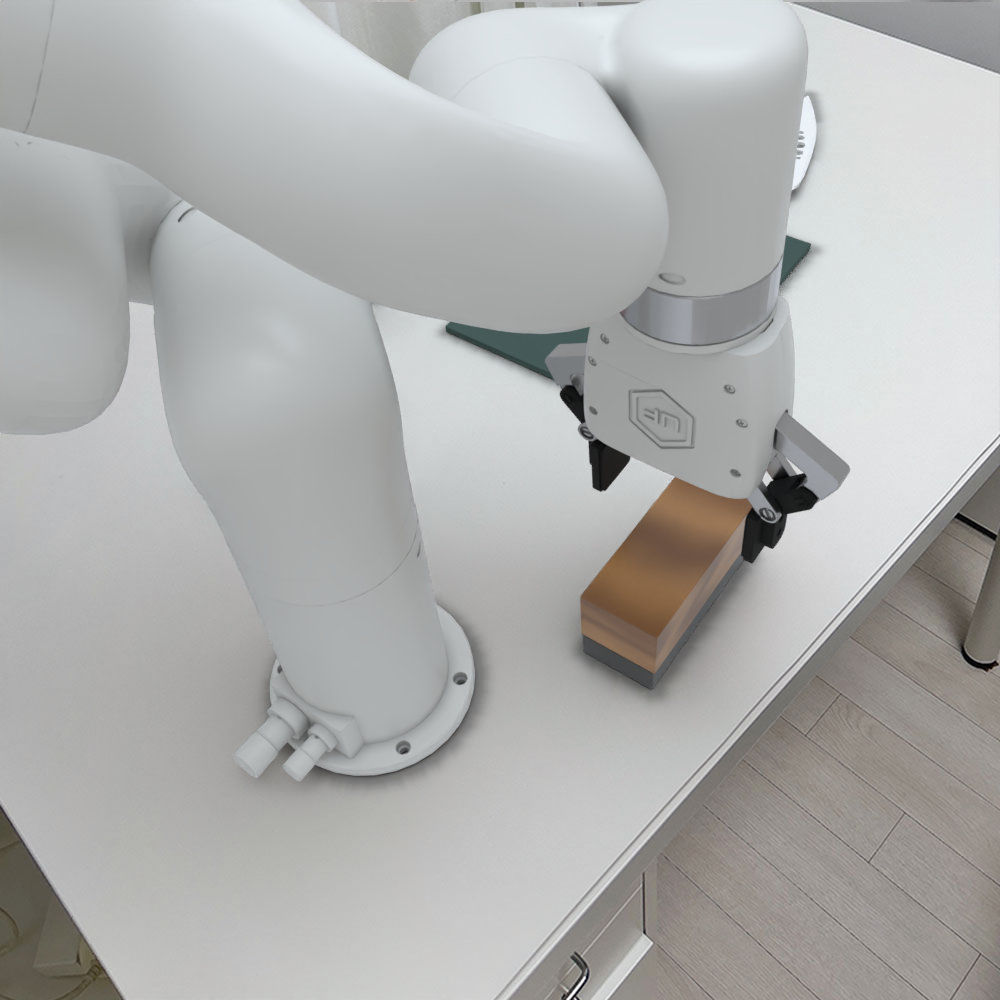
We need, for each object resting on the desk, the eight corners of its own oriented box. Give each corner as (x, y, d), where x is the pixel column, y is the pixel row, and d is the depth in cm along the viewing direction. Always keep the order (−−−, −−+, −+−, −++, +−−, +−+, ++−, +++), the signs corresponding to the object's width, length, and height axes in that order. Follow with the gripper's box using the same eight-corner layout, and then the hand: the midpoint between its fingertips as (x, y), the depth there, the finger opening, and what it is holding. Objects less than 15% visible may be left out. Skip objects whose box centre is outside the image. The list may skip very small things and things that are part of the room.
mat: (662, 428, 80) (662, 422, 80) (445, 331, 89) (445, 326, 88) (810, 249, 92) (811, 243, 91) (606, 178, 100) (606, 173, 100)
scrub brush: (653, 691, 67) (657, 638, 62) (581, 651, 69) (579, 596, 64) (747, 557, 72) (757, 499, 68) (678, 523, 75) (683, 465, 70)
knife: (807, 86, 106) (881, 109, 102) (804, 102, 107) (877, 126, 103) (619, 227, 91) (698, 260, 87) (618, 244, 92) (696, 277, 89)
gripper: (494, 262, 52) (523, 491, 65) (837, 395, 45) (791, 623, 58) (581, 178, 56) (592, 412, 69) (912, 289, 48) (853, 527, 62)
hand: (683, 508), depth 63 cm, fingers open, 9 cm apart
